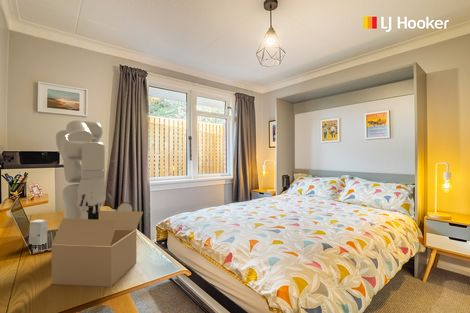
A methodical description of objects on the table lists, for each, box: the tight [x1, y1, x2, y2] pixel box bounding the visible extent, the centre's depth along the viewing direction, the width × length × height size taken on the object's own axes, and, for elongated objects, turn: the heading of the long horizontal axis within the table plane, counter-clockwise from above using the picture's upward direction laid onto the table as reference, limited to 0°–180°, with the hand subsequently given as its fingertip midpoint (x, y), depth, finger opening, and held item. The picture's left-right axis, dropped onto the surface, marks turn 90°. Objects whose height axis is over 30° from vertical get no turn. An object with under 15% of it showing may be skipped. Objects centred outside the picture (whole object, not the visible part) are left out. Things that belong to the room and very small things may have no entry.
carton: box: [51, 229, 137, 288], centre depth 91 cm, size 22×18×14 cm
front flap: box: [51, 218, 118, 246], centre depth 84 cm, size 21×9×1 cm
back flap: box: [99, 210, 144, 231], centre depth 103 cm, size 21×9×1 cm
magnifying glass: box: [115, 201, 134, 211], centre depth 125 cm, size 9×2×20 cm, turn 135°
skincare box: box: [28, 219, 49, 246], centre depth 117 cm, size 6×4×12 cm
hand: (93, 222), depth 88 cm, fingers closed
